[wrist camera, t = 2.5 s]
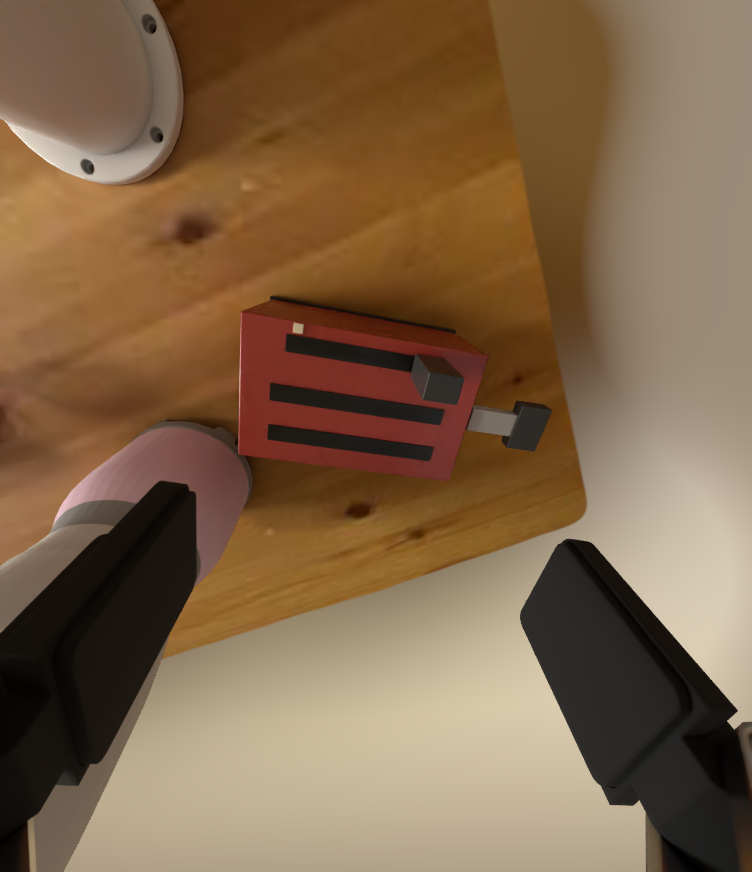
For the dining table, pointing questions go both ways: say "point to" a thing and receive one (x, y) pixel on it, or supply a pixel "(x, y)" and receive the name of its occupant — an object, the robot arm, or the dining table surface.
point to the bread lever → (512, 423)
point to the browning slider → (436, 379)
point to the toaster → (349, 390)
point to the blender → (97, 514)
